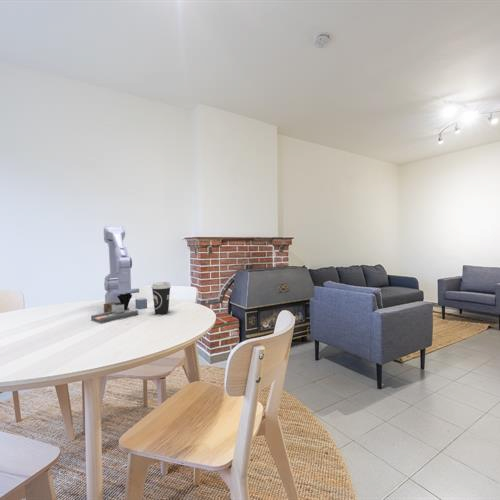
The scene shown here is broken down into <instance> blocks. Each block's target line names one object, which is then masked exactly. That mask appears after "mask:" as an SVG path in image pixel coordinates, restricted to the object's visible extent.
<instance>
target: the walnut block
mask: <svg viewBox="0 0 500 500" xmlns="http://www.w3.org/2000/svg"><path fill="white" fill-rule="evenodd" d="M112 304H115V302H110V303H106V304H105V303H103V313H107V312H111V311H112Z"/></svg>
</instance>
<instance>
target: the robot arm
mask: <svg viewBox="0 0 500 500" xmlns="http://www.w3.org/2000/svg"><path fill="white" fill-rule="evenodd" d="M125 237H126V229H125V228H124V226H121V227H120V226H119V227H117V226H105V227H104V228H103V241H104V243H105V244H107V245H108V257H109V273H108V274H107V275H106V276H105V277H104V281H103V283H104V284H103V285H104V290H105V294H104V304H106V303H110V302H115V303H121V304H124V310H127V308H129V303H130V301H131V299H132V297H133V294H138V293H140V288H132V282H131V281H132V276H131V269H132V267H133V259H132V257H131V256H130V255H129V253H128V249H127V247H126V246H124V240H125Z"/></svg>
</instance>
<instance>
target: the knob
mask: <svg viewBox="0 0 500 500" xmlns="http://www.w3.org/2000/svg"><path fill="white" fill-rule="evenodd" d="M122 313H124V304H121V303H115V304H112V314H114V315H118V314H122Z"/></svg>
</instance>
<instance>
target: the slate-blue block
mask: <svg viewBox="0 0 500 500" xmlns="http://www.w3.org/2000/svg"><path fill="white" fill-rule="evenodd" d="M135 309H136V310H143V309H148V299H147V298H146V297H141V298H135Z"/></svg>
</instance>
